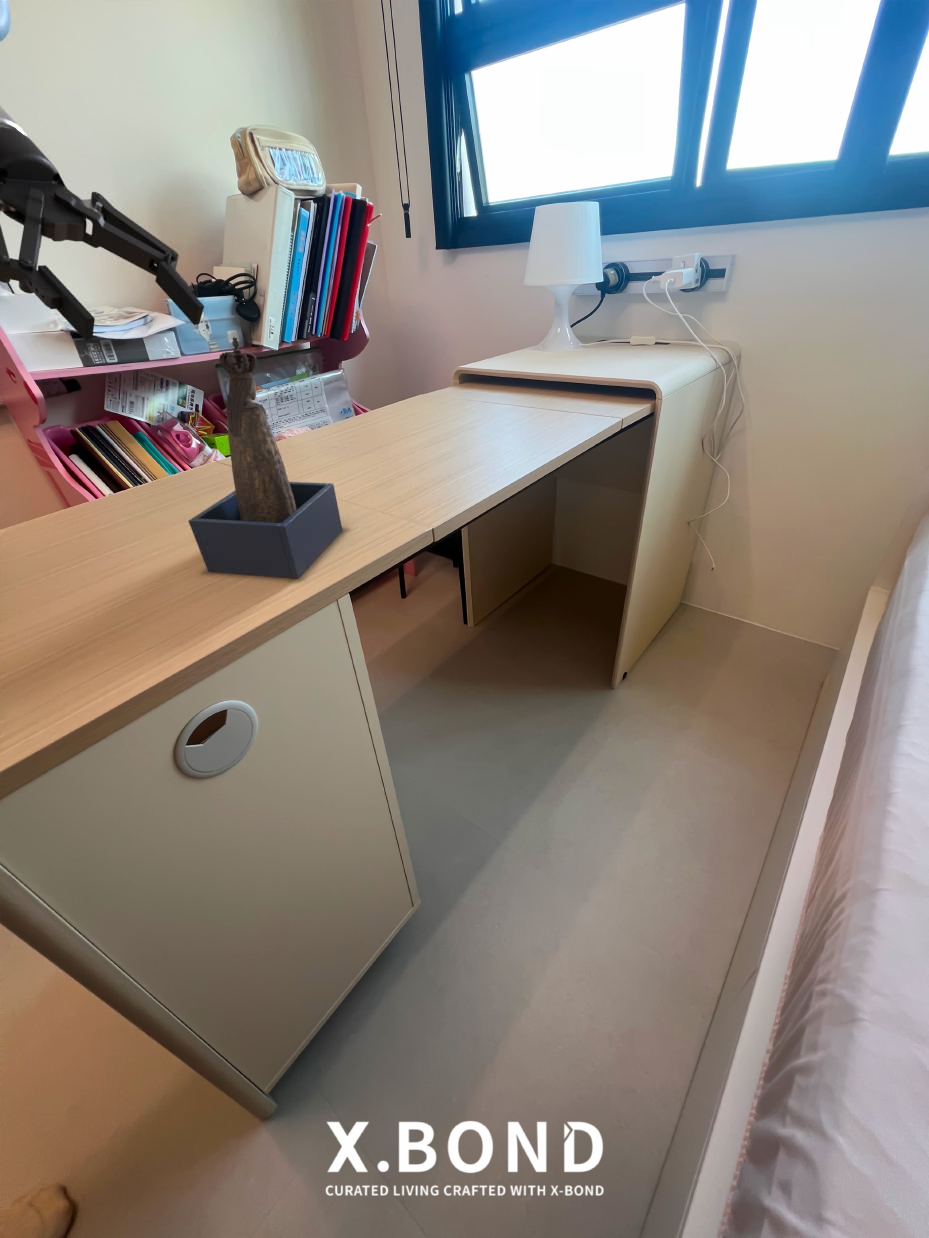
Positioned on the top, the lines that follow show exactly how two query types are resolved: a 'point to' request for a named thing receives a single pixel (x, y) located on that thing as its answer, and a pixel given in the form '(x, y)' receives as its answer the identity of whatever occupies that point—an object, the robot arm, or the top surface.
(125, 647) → the top surface
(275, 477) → the statue
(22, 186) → the robot arm
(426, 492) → the top surface
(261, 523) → the bin
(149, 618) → the top surface
